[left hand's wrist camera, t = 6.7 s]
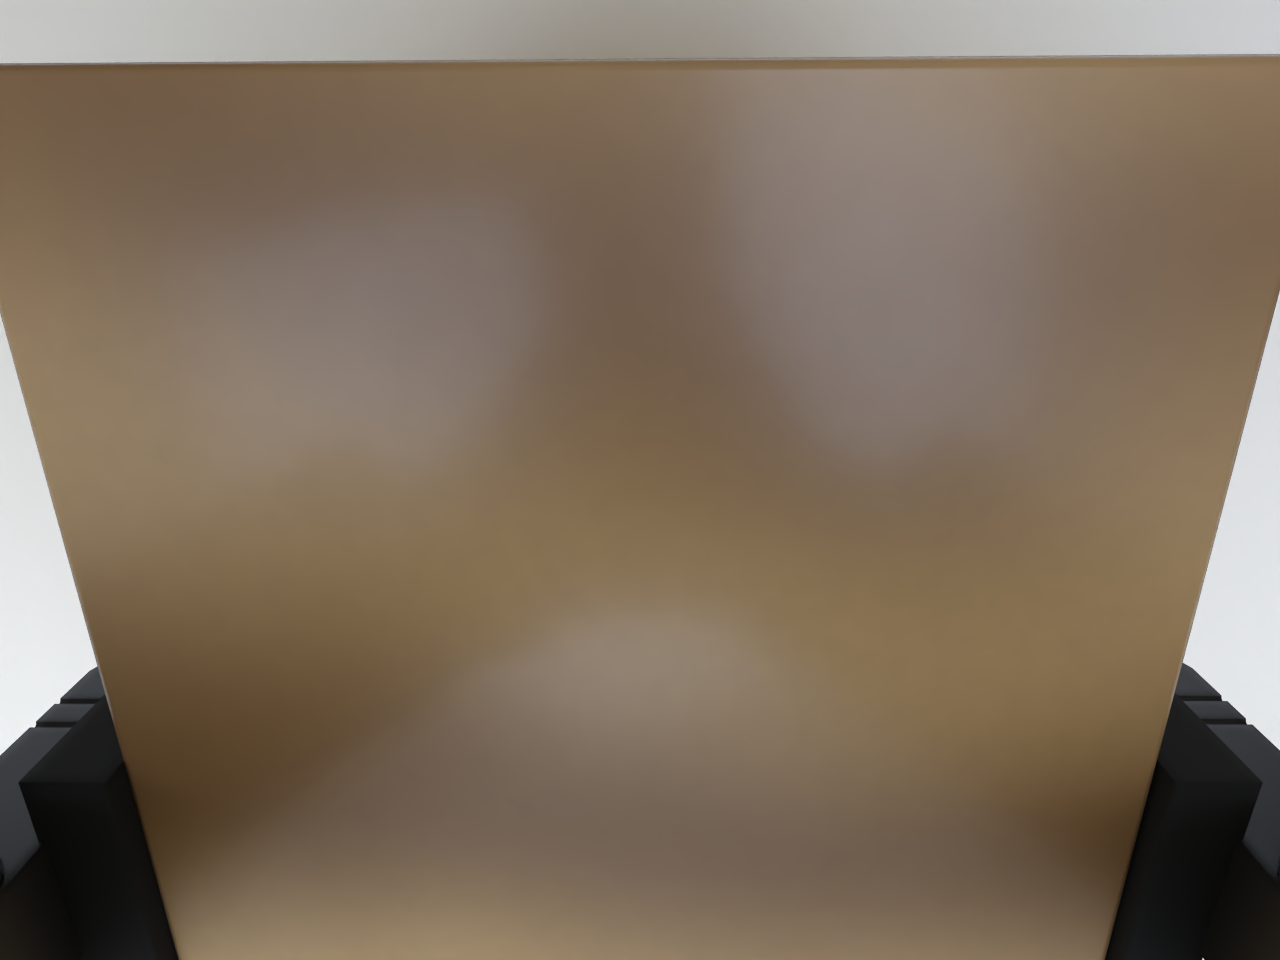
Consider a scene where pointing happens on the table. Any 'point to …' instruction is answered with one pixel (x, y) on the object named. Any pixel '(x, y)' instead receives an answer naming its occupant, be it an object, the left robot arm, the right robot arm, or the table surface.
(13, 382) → the table surface
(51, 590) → the table surface
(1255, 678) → the table surface
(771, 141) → the long beam
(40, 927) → the left robot arm
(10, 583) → the table surface
